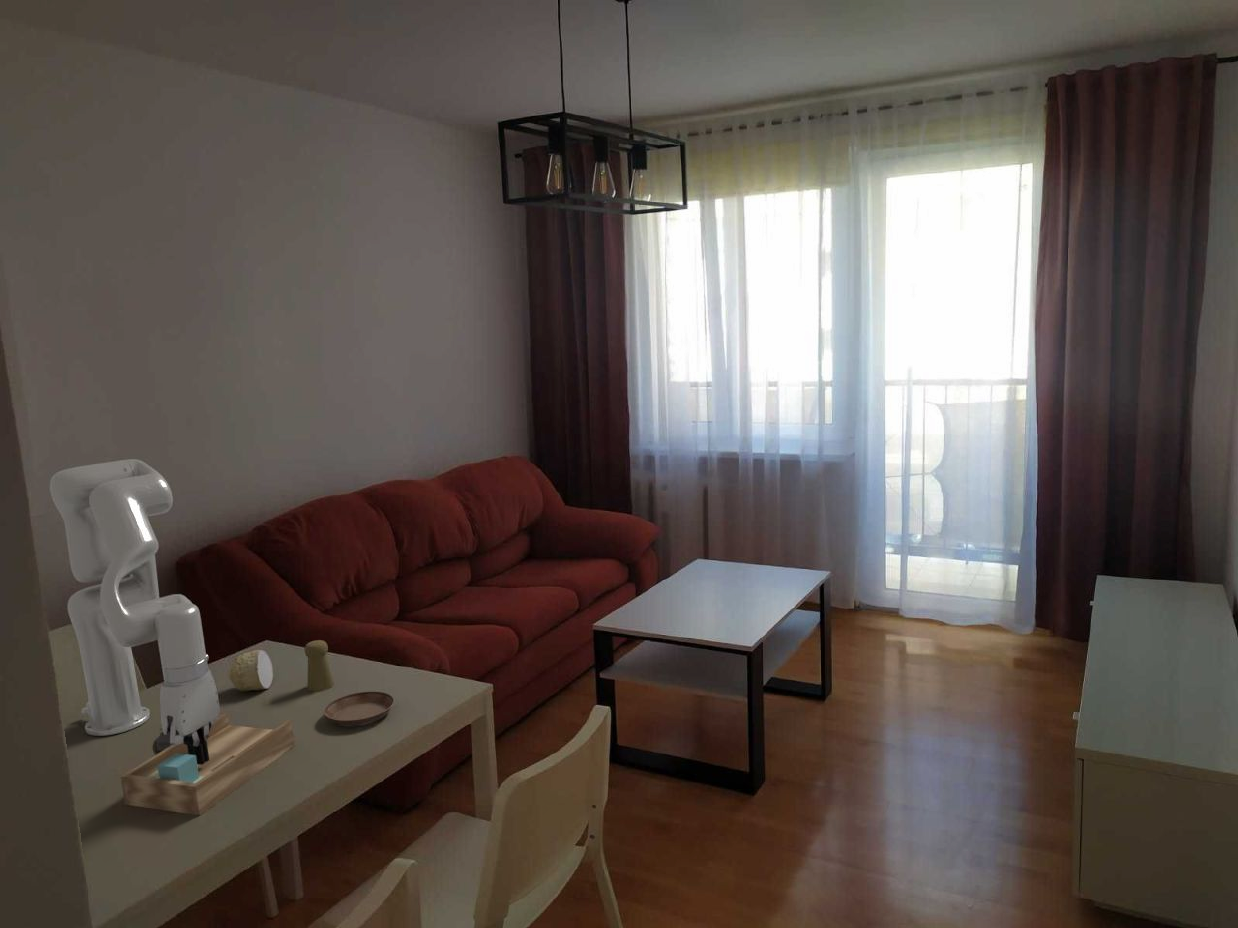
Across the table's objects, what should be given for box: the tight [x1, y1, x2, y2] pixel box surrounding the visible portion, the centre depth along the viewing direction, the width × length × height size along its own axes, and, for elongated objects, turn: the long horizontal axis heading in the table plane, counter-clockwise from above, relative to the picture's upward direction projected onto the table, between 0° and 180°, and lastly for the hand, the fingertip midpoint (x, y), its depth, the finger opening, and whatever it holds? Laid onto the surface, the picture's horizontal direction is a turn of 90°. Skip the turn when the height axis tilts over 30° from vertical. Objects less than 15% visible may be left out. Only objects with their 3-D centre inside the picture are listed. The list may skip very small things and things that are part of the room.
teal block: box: [157, 753, 199, 783], centre depth 164 cm, size 4×4×4 cm
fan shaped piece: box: [155, 731, 172, 754], centre depth 190 cm, size 8×14×2 cm, turn 27°
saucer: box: [323, 690, 395, 728], centre depth 195 cm, size 15×15×3 cm
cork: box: [304, 639, 335, 693], centre depth 211 cm, size 6×6×11 cm
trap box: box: [120, 713, 296, 816], centre depth 173 cm, size 17×26×6 cm, turn 162°
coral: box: [227, 649, 274, 692], centre depth 212 cm, size 10×10×10 cm
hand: (199, 761), depth 169 cm, fingers closed
